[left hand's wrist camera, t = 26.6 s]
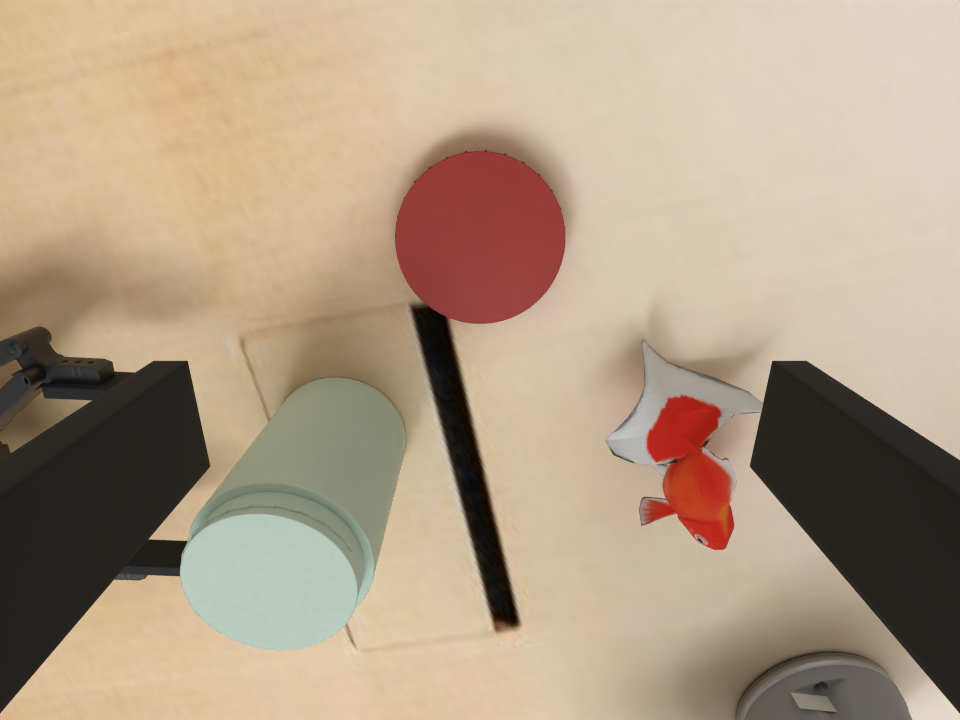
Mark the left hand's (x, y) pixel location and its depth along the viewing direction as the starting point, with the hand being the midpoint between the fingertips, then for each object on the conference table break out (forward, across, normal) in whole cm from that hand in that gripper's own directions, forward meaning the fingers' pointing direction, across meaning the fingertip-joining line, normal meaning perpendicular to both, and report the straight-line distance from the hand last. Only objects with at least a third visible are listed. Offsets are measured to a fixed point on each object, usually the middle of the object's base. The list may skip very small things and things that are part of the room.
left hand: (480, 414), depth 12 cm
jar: (+26, +11, +15) cm, 32 cm away
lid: (+24, 0, 0) cm, 24 cm away
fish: (+26, -14, +14) cm, 33 cm away
